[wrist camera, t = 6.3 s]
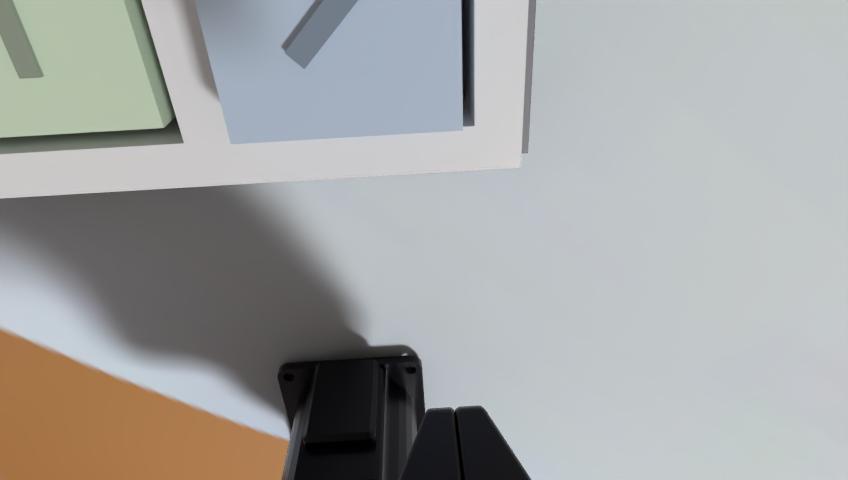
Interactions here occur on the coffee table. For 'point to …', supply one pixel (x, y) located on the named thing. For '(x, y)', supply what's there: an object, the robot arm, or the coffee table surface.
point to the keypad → (285, 160)
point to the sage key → (79, 68)
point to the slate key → (335, 67)
